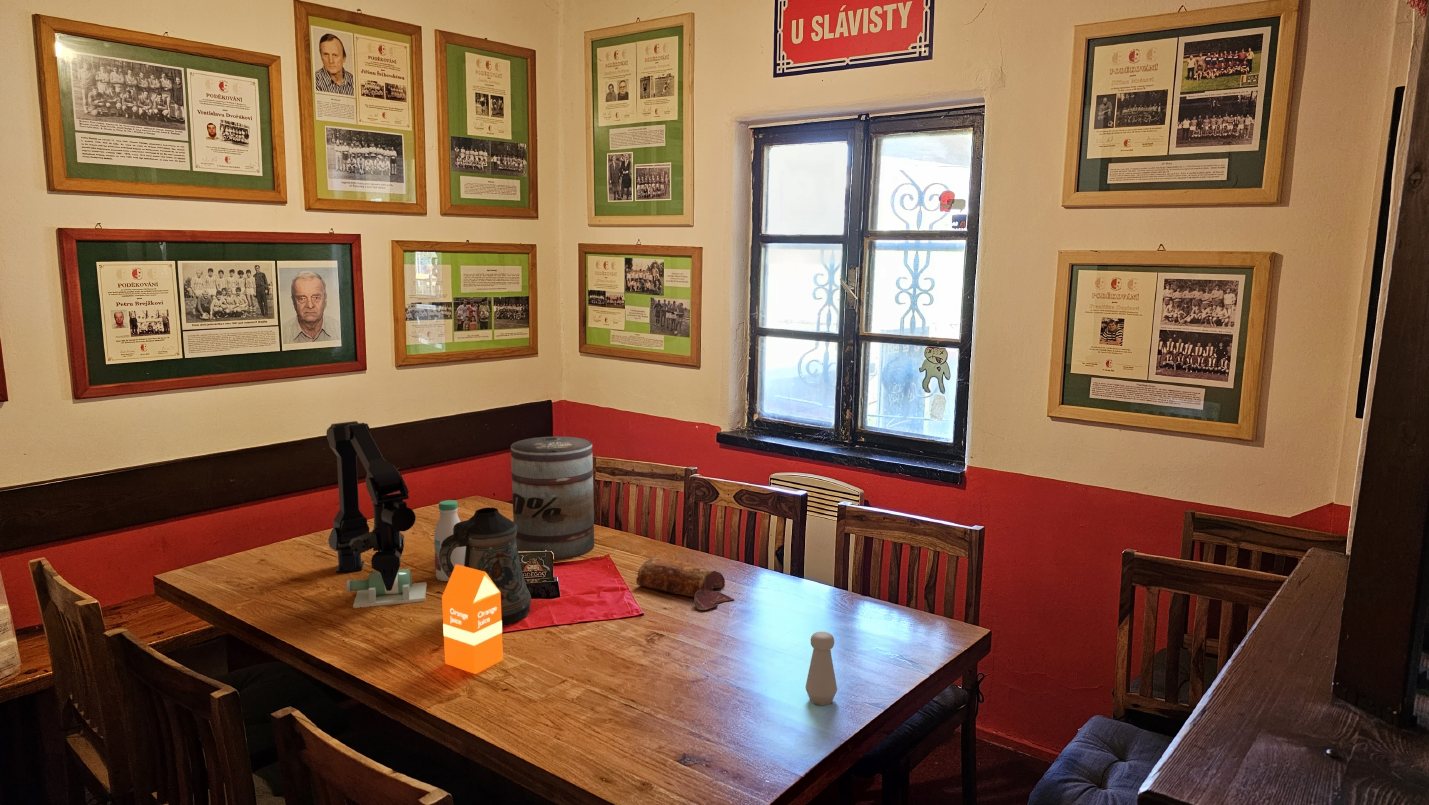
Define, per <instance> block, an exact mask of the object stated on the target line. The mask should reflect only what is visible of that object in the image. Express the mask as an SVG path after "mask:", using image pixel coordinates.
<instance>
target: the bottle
mask: <svg viewBox="0 0 1429 805" xmlns="http://www.w3.org/2000/svg"><path fill="white" fill-rule="evenodd" d="M410 572H411V571H410V568H405V569H404V568H403V569H399V570H398V573H397V576H396V578H395V581H394V584H393V587H392V590H391V591H387V590H386V587H385V585H384V582H383V579H382V576H381V573H380V572H379V571H370V572H369V574H368V578H364V579H362V578H360V579H353V580H352V579H347V580H346V581H345V582H346V585H345V587H346V593H351V592H358V591H360V590H369V588H374V587H375V590H376V595H385V594H386V595H387V594H398V593H403V588H402V587H403V585H407V584H409V592H410Z"/></svg>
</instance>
